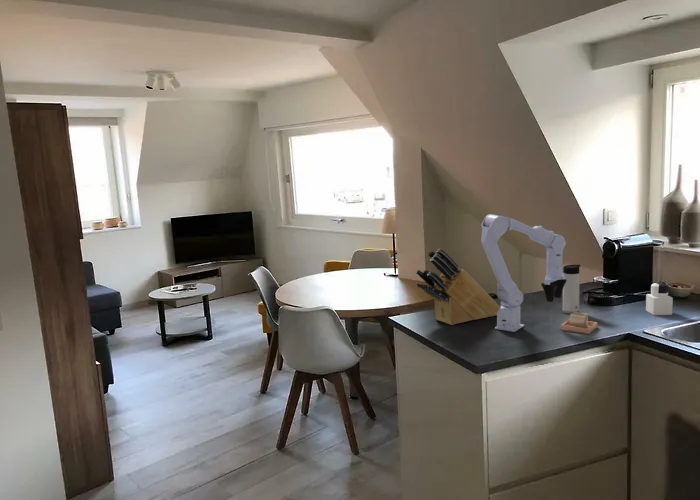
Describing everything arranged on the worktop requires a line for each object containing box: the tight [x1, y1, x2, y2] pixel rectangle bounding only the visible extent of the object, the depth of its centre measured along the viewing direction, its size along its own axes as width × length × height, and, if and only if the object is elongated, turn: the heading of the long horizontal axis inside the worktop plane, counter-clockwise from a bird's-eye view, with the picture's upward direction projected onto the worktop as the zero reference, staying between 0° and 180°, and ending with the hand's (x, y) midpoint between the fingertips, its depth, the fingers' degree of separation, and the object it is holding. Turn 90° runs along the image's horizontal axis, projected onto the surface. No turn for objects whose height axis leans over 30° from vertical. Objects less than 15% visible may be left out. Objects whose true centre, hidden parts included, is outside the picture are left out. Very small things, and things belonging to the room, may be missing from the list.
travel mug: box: [562, 264, 581, 315], centre depth 224 cm, size 6×7×20 cm
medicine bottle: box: [645, 282, 674, 316], centre depth 217 cm, size 7×7×12 cm
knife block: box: [415, 248, 501, 326], centre depth 220 cm, size 11×35×31 cm, turn 116°
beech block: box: [569, 312, 589, 328], centre depth 203 cm, size 5×5×5 cm
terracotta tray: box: [560, 318, 598, 335], centre depth 203 cm, size 10×10×2 cm
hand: (553, 299), depth 211 cm, fingers open, 7 cm apart
